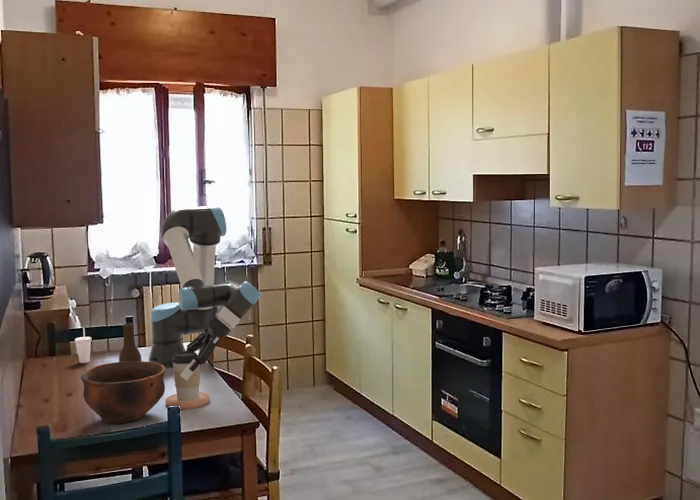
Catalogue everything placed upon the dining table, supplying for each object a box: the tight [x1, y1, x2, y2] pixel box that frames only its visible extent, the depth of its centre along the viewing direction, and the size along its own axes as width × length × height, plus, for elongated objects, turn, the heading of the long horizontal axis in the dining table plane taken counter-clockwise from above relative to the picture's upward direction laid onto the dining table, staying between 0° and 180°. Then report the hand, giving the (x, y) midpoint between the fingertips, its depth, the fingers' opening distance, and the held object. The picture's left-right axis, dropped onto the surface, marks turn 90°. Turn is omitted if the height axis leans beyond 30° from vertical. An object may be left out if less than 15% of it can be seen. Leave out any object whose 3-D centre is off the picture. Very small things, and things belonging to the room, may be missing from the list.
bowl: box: [80, 360, 166, 424], centre depth 226 cm, size 25×25×15 cm
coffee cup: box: [172, 350, 201, 401], centre depth 240 cm, size 9×9×15 cm
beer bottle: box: [118, 322, 143, 362], centre depth 253 cm, size 8×8×24 cm
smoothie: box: [74, 327, 92, 364], centre depth 296 cm, size 6×6×14 cm
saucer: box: [165, 391, 211, 410], centre depth 241 cm, size 14×14×2 cm
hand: (179, 372), depth 239 cm, fingers open, 13 cm apart
